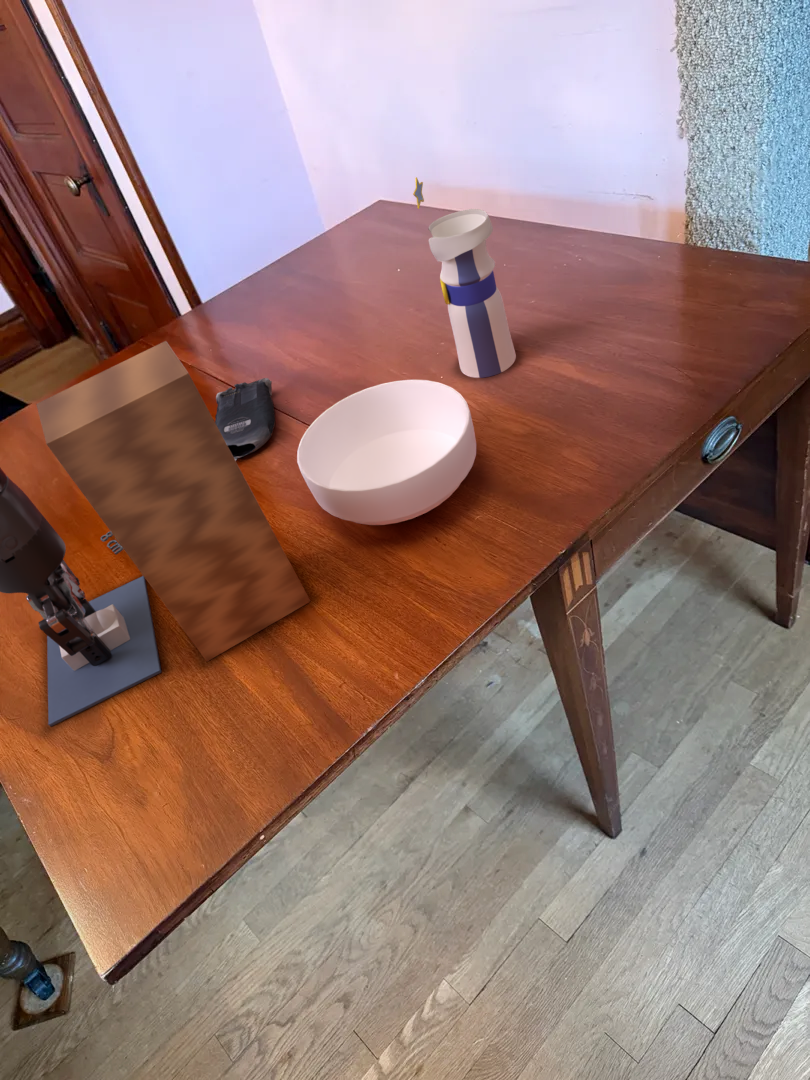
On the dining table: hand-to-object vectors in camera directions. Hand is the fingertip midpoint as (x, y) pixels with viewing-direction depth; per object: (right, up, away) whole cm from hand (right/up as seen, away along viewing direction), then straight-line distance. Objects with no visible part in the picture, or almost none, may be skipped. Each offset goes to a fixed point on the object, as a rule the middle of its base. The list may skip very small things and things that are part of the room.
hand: (98, 642), depth 81 cm
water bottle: (+44, +35, +21) cm, 60 cm away
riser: (+17, +4, -2) cm, 17 cm away
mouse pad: (0, 0, 0) cm, 1 cm away
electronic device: (+11, +27, +25) cm, 38 cm away
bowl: (+33, +17, +6) cm, 38 cm away
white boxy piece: (0, 0, 0) cm, 0 cm away
